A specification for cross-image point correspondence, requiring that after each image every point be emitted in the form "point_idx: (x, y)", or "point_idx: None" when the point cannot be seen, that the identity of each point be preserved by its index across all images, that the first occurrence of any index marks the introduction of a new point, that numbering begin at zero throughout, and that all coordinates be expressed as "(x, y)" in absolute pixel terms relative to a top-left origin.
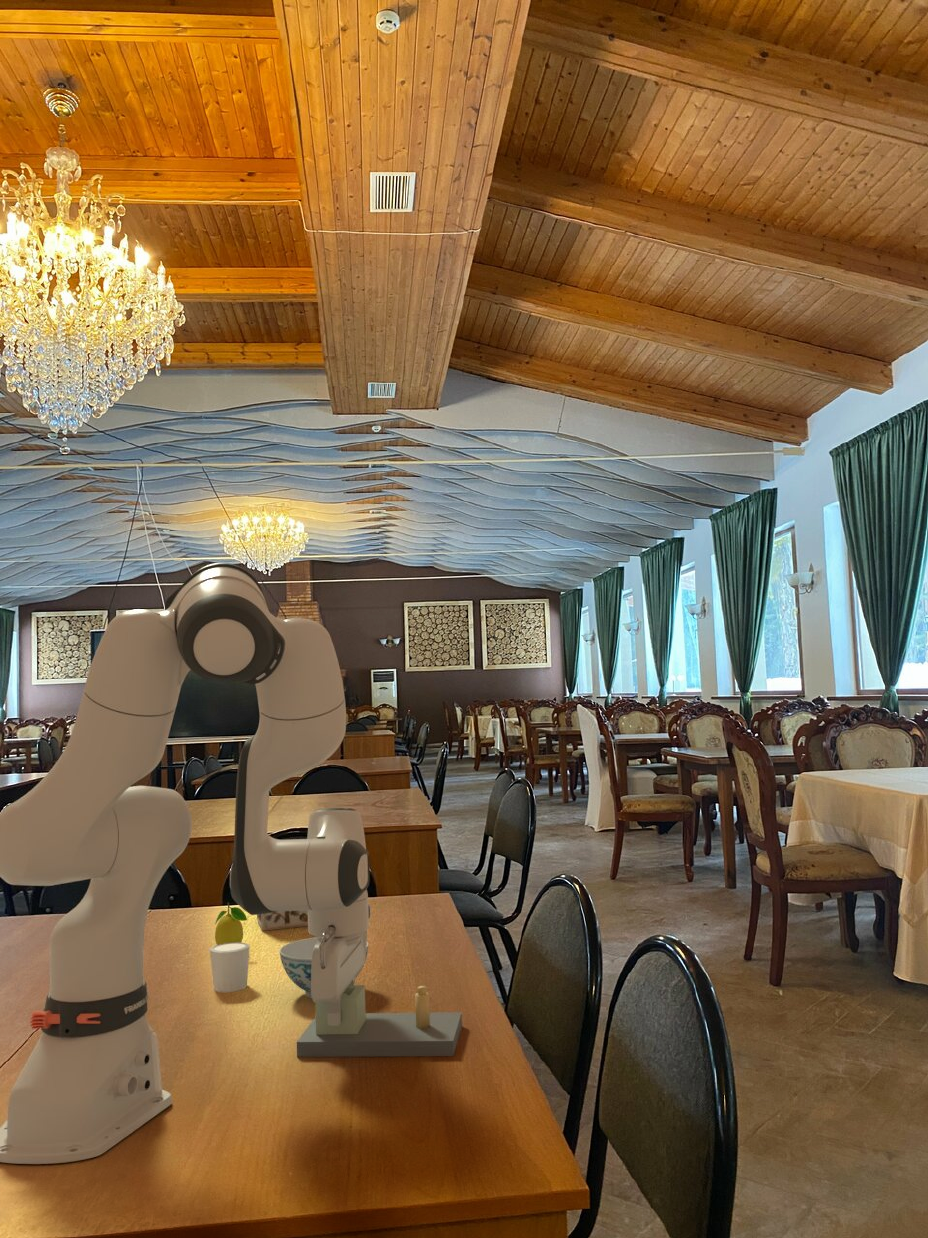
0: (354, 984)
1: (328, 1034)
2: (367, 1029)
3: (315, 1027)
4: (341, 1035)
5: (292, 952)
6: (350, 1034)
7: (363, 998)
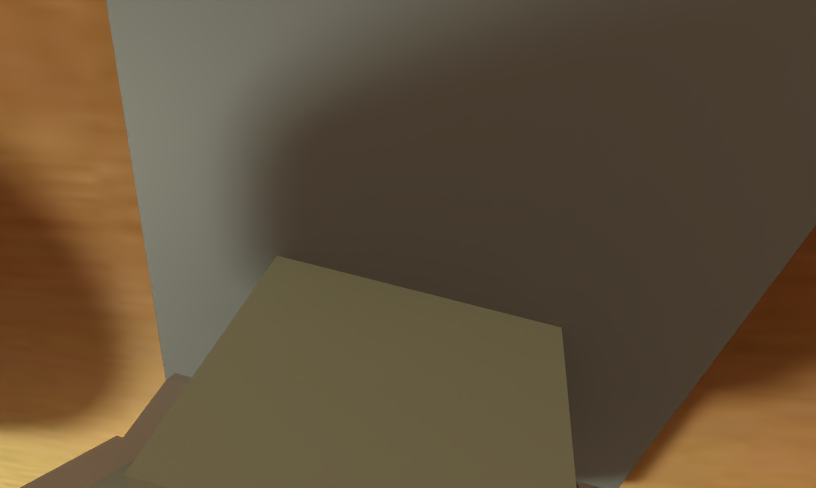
0: (35, 482)
1: None
2: (485, 264)
3: None
4: None
5: None
6: None
7: (257, 401)
